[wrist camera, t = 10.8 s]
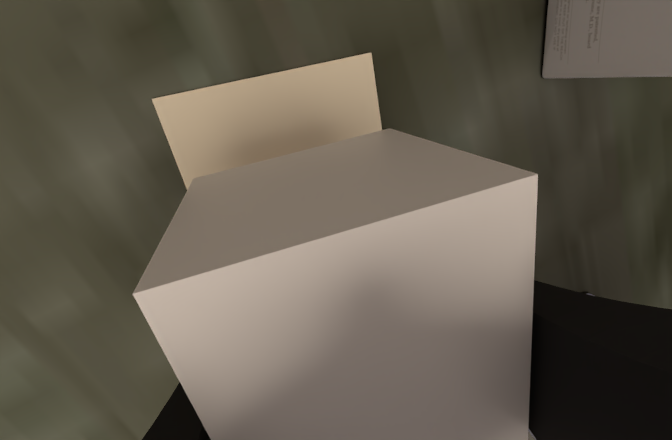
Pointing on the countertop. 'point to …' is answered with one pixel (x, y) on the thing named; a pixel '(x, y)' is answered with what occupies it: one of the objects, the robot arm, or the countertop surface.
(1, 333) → the countertop surface
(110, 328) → the countertop surface
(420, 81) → the countertop surface
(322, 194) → the white rectangular prism
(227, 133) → the mark
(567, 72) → the supplement box
